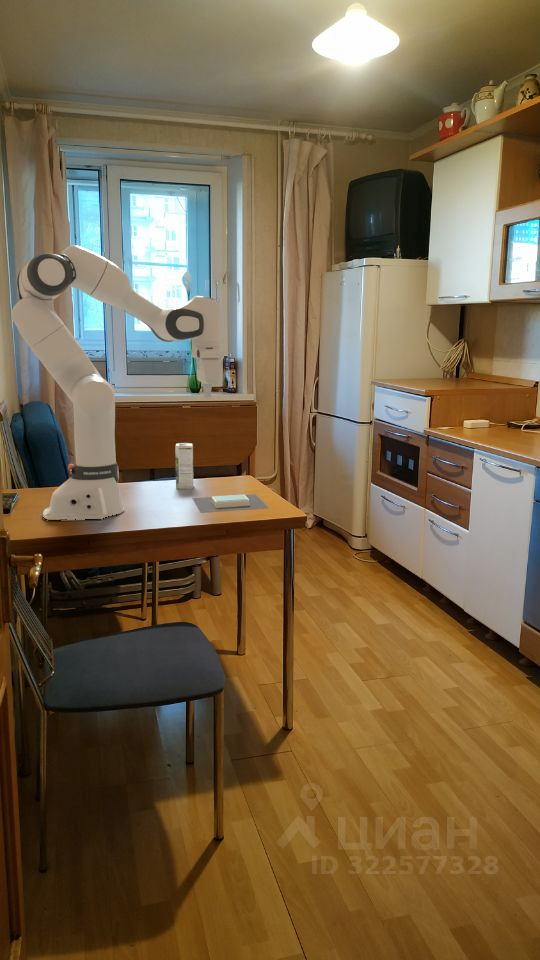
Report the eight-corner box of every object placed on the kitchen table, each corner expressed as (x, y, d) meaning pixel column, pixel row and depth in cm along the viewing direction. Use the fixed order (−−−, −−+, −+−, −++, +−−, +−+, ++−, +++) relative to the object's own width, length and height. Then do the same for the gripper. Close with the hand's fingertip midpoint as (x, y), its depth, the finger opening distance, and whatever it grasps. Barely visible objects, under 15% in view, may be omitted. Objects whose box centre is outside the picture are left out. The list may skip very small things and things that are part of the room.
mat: (200, 513, 194) (200, 512, 194) (192, 499, 211) (192, 498, 211) (269, 509, 199) (269, 507, 199) (255, 495, 216) (255, 494, 216)
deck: (211, 502, 206) (215, 508, 199) (211, 496, 205) (215, 501, 198) (244, 500, 208) (249, 505, 201) (244, 494, 207) (249, 499, 201)
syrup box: (176, 485, 231) (174, 443, 228) (194, 485, 231) (192, 442, 228) (176, 489, 225) (174, 445, 222) (194, 488, 226) (192, 445, 223)
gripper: (191, 351, 216) (192, 395, 219) (200, 352, 197) (201, 400, 199) (211, 350, 217) (212, 394, 220) (222, 352, 198) (223, 400, 201)
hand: (207, 397), depth 210 cm, fingers closed
